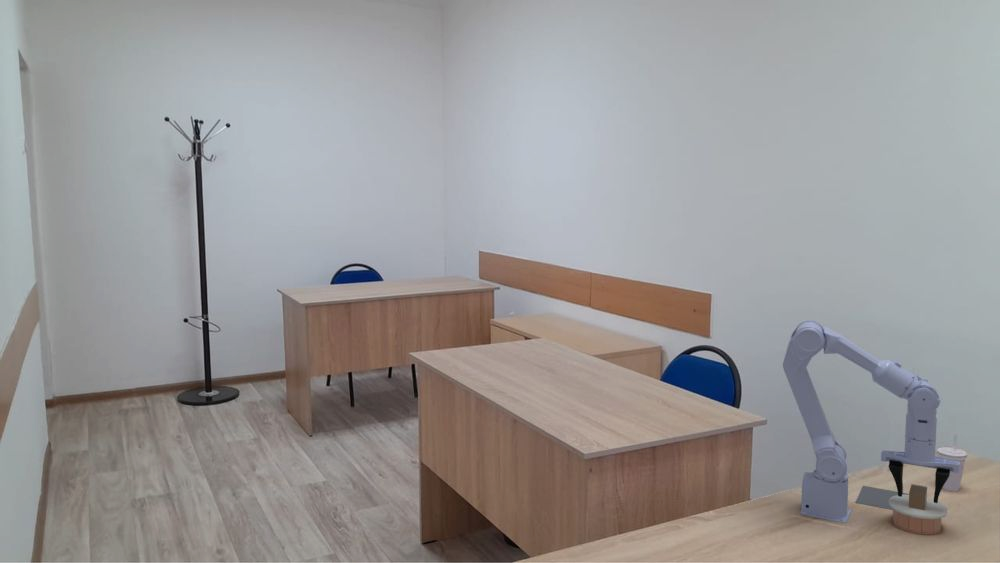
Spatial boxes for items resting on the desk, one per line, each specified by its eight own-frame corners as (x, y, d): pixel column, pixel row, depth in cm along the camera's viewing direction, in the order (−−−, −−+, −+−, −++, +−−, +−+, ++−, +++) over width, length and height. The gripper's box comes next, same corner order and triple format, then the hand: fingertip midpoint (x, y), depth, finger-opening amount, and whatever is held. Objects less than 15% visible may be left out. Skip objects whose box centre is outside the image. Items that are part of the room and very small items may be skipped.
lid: (885, 511, 156) (886, 492, 156) (891, 494, 166) (892, 476, 165) (945, 523, 150) (946, 503, 150) (948, 504, 159) (949, 485, 159)
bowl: (890, 529, 157) (891, 511, 156) (895, 514, 164) (896, 497, 164) (939, 539, 152) (940, 521, 151) (942, 523, 159) (942, 505, 159)
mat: (855, 504, 170) (855, 502, 170) (862, 487, 180) (863, 485, 180) (913, 515, 164) (914, 513, 163) (918, 497, 173) (918, 495, 173)
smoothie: (964, 497, 173) (967, 440, 171) (933, 491, 177) (935, 435, 175) (966, 488, 178) (969, 432, 177) (936, 482, 182) (938, 428, 180)
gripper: (961, 437, 155) (958, 498, 157) (884, 427, 163) (882, 485, 165) (959, 447, 149) (956, 510, 151) (880, 435, 157) (878, 496, 159)
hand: (917, 498), depth 157 cm, fingers open, 6 cm apart
